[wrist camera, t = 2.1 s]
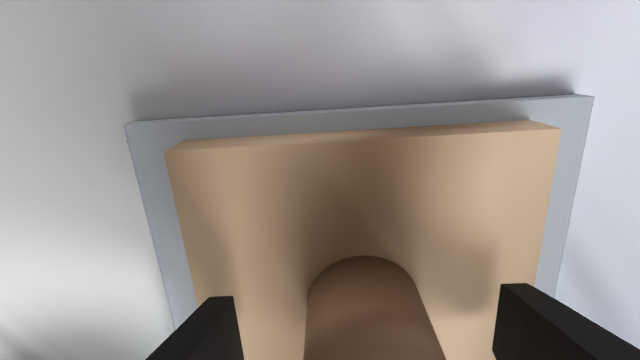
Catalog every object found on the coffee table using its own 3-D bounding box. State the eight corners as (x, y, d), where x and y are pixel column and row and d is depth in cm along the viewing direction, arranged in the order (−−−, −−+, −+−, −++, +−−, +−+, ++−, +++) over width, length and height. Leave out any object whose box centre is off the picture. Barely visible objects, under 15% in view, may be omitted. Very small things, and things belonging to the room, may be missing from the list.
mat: (577, 94, 9) (594, 96, 8) (525, 376, 12) (534, 391, 12) (135, 120, 9) (123, 124, 9) (199, 388, 13) (194, 402, 12)
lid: (530, 119, 9) (803, 195, 4) (492, 382, 12) (617, 618, 7) (184, 140, 9) (11, 235, 4) (233, 391, 12) (168, 624, 7)
